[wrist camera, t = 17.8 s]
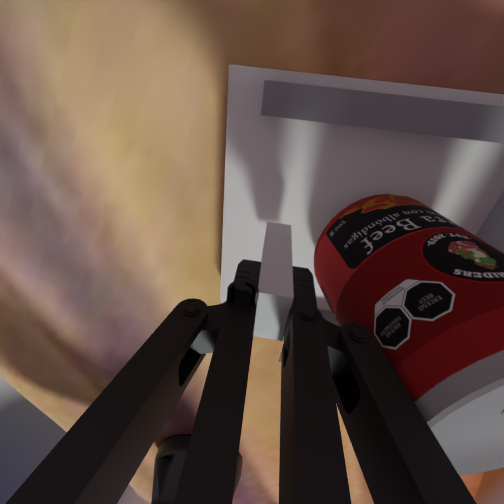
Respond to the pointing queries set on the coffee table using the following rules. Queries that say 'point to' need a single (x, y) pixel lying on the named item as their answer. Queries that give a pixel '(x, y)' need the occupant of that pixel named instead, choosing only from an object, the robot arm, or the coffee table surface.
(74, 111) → the coffee table surface
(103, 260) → the coffee table surface
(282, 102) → the dock
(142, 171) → the coffee table surface
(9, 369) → the coffee table surface
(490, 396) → the canned food
